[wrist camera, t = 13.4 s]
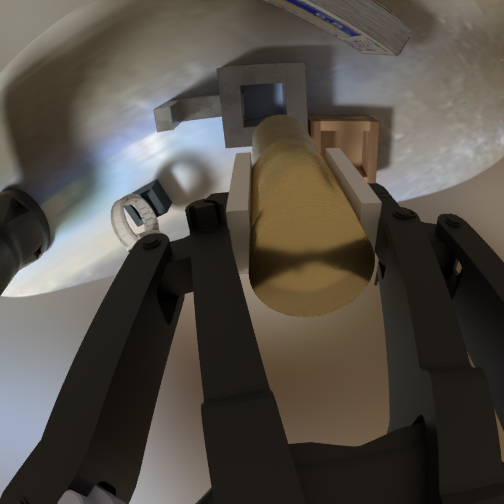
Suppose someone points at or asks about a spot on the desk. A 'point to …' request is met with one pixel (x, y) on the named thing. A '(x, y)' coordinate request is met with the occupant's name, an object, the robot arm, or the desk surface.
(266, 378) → the robot arm
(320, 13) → the electronic device
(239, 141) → the socket block
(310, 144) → the tan rounded cylinder
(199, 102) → the grey l-shaped block
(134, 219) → the watch
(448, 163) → the desk surface
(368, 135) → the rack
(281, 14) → the desk surface
